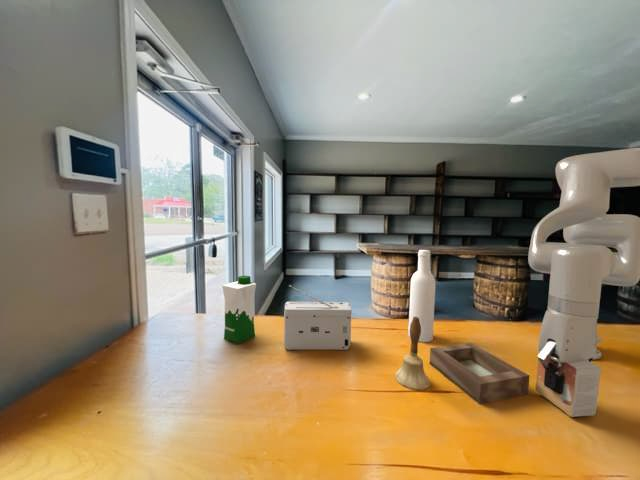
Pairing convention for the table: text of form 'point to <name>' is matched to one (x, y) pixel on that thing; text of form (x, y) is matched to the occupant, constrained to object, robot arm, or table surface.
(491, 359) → the well block
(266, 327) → the table surface
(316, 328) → the stereo radio cassette player
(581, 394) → the small box
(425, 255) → the bottle
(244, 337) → the milk carton
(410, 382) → the hand bell
